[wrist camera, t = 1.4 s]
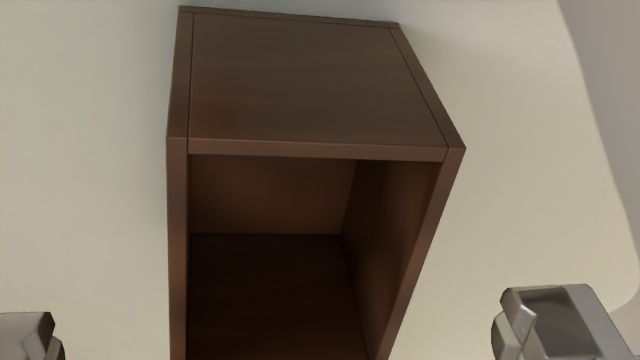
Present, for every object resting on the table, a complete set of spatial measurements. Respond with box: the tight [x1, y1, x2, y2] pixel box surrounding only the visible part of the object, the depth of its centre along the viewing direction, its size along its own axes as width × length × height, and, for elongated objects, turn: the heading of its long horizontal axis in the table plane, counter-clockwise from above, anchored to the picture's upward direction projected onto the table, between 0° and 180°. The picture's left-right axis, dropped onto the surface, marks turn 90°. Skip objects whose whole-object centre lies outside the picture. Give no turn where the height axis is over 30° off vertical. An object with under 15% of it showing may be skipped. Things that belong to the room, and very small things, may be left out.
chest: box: [166, 6, 466, 360], centre depth 33 cm, size 17×12×12 cm
